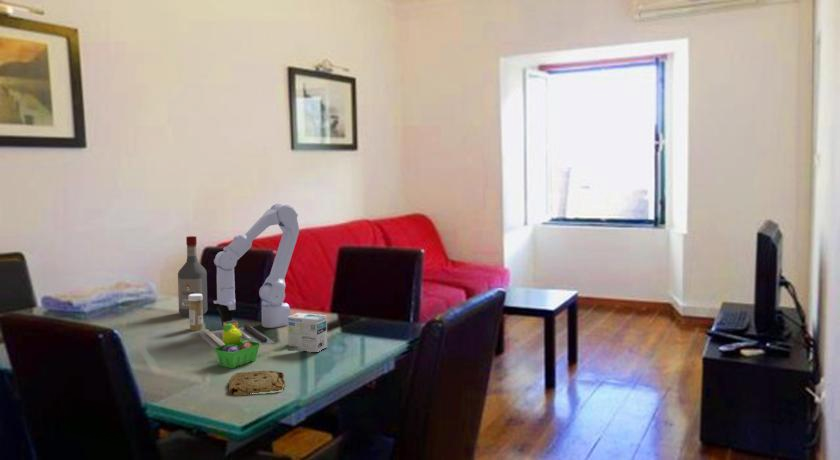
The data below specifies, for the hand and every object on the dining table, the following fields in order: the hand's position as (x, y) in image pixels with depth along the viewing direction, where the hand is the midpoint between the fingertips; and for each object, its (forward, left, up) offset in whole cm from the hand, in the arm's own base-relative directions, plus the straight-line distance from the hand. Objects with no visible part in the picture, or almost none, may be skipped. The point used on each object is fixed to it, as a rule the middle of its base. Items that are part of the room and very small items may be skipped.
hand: (226, 326), depth 210 cm
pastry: (+7, +53, -4) cm, 53 cm away
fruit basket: (+6, +31, -3) cm, 32 cm away
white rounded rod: (+6, +10, -1) cm, 12 cm away
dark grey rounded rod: (-7, +10, -1) cm, 12 cm away
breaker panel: (0, +10, -3) cm, 10 cm away
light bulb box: (-17, +29, -3) cm, 34 cm away
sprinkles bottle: (+8, -8, -3) cm, 12 cm away
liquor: (+2, -38, -3) cm, 38 cm away
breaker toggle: (0, +5, -1) cm, 5 cm away
